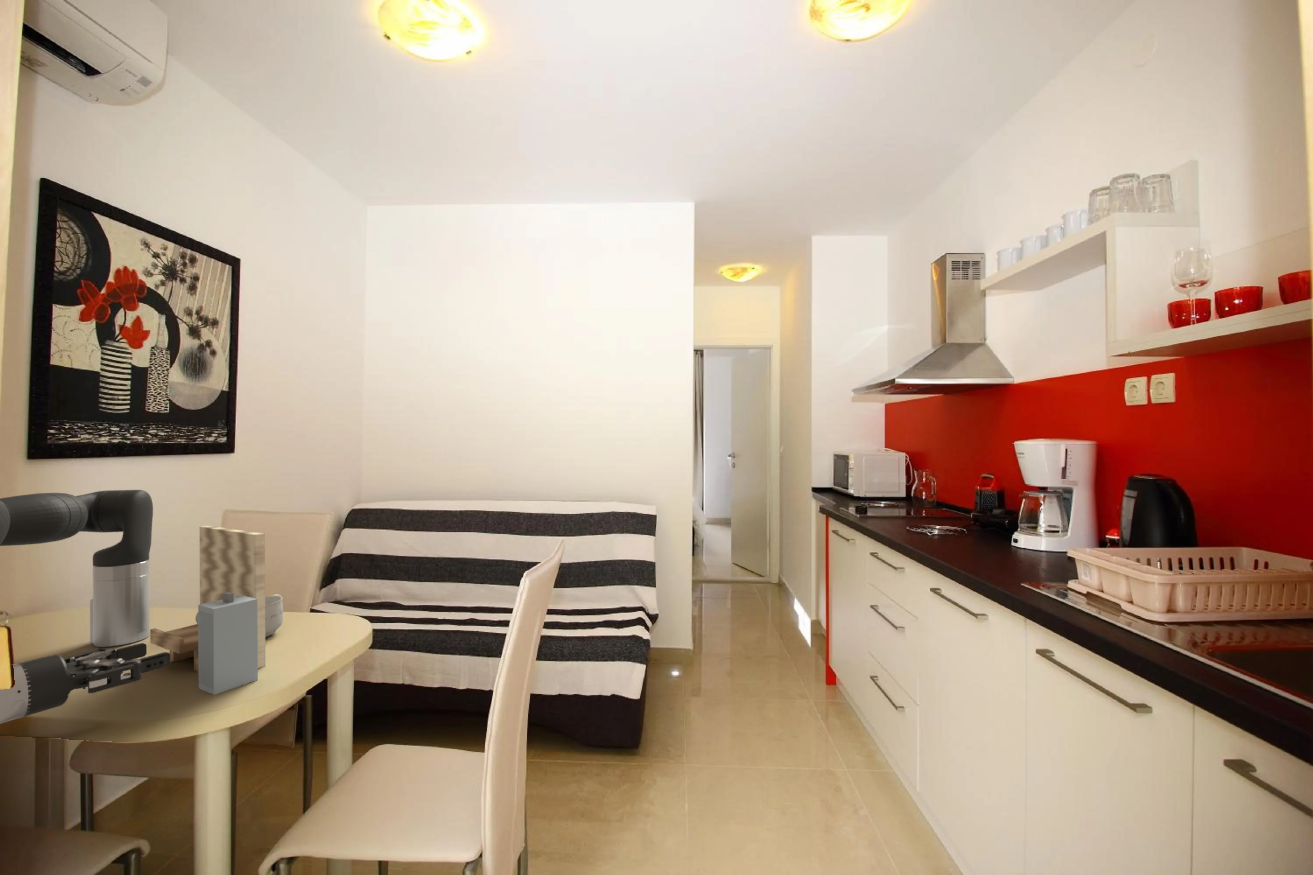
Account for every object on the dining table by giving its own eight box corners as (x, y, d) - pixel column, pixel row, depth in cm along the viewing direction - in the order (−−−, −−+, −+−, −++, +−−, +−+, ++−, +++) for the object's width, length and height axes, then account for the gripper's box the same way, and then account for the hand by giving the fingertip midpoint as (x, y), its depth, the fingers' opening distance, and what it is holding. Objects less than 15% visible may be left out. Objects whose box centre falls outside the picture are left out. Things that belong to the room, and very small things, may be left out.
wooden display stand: (145, 663, 115) (145, 533, 115) (208, 646, 125) (208, 525, 125) (201, 686, 105) (200, 542, 105) (265, 665, 114) (264, 533, 114)
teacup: (254, 646, 125) (253, 609, 125) (212, 643, 127) (212, 606, 127) (305, 625, 138) (305, 592, 138) (267, 623, 140) (266, 589, 140)
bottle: (198, 688, 104) (197, 595, 104) (242, 674, 110) (241, 586, 110) (214, 694, 101) (213, 599, 101) (257, 679, 108) (257, 590, 107)
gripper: (33, 674, 79) (177, 637, 93) (-1, 655, 86) (137, 624, 100) (34, 729, 79) (177, 684, 93) (-1, 706, 86) (138, 667, 100)
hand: (157, 653), depth 97 cm, fingers open, 8 cm apart
